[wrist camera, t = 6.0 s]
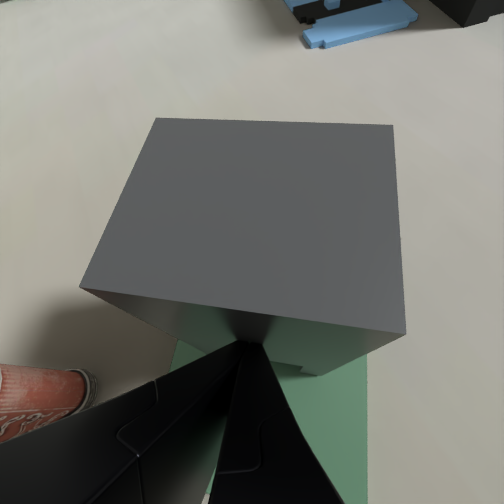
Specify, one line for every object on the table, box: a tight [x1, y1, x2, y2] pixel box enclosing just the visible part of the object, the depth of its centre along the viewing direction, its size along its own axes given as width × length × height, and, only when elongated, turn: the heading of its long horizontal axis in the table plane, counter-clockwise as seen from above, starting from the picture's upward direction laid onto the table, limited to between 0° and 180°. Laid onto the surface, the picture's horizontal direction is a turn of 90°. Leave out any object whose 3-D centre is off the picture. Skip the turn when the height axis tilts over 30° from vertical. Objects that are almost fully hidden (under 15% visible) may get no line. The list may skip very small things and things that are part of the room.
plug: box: [79, 118, 406, 376], centre depth 12 cm, size 5×6×12 cm
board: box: [169, 339, 368, 504], centre depth 18 cm, size 19×11×1 cm, turn 170°
